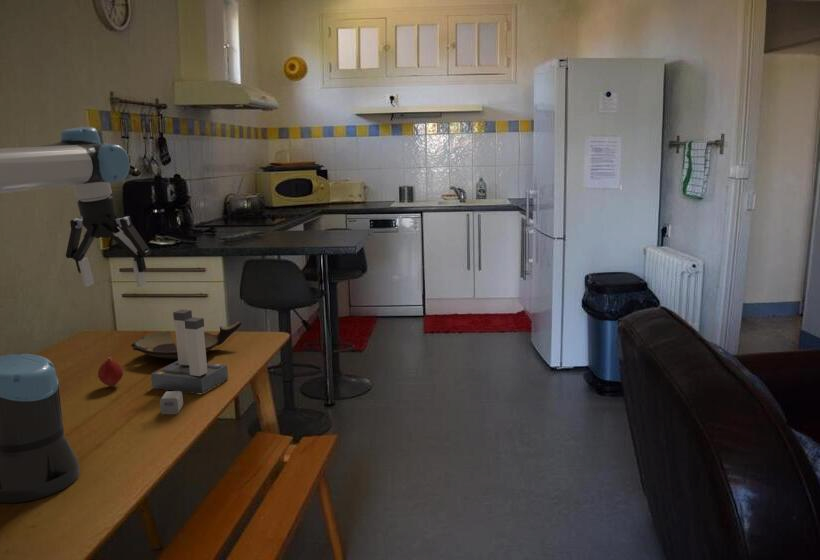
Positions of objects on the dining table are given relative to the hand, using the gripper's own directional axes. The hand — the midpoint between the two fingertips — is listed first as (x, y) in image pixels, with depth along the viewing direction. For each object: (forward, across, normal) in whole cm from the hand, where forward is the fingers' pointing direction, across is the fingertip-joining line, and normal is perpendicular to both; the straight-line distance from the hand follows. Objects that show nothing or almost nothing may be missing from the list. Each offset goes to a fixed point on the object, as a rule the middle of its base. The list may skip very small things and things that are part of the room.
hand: (115, 285), depth 159 cm
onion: (+29, +9, -2) cm, 30 cm away
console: (+30, -10, -6) cm, 32 cm away
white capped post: (+26, -8, -10) cm, 29 cm away
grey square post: (+25, -15, -3) cm, 29 cm away
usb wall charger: (+28, -14, +10) cm, 33 cm away
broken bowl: (+33, +2, -28) cm, 43 cm away
